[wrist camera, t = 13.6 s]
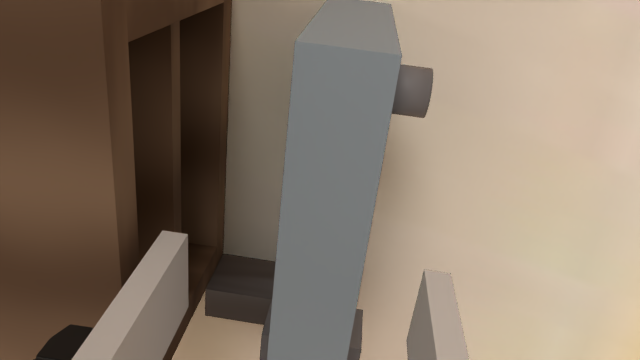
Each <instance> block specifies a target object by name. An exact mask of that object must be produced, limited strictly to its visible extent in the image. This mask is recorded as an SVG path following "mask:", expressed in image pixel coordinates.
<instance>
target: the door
mask: <svg viewBox="0 0 640 360" xmlns="http://www.w3.org/2000/svg"><path fill="white" fill-rule="evenodd" d="M401 58H402V53H401V48H400V44H399V39H398V34H397V30H396V25H395V21H394V16H393V11H392V7H391V4H386V3H378V2H370V1H362V0H327V1H326V2H325V3H324V5H323V6H322V7H321V9H320V10H319V11H318V12H317V14H316V15H315V16H314V18H313V19H312V20H311V21H310V23H309V24H308V25H307V26H306V28H305V29H304V30H303V32H302V33H301V34H300V35H299V37H298V38H297V39H296V41H295V48H294V60H293V71H292V82H291V94H290V105H289V116H288V128H287V139H286V150H285V162H284V173H283V184H282V196H281V207H280V218H279V230H278V241H277V252H276V264H275V275H274V286H273V297H272V300H271V304H270V307H269V311H268V314H267V318H266V321H265V324H264V328H263V331H262V338H261V350H260V360H359V358H360V353H361V342H362V315H363V310H360V309H356V307H357V301H358V295H359V290H360V284H361V279H362V273H363V268H364V262H365V257H366V251H367V246H368V240H369V235H370V229H371V224H372V218H373V213H374V207H375V202H376V196H377V190H378V185H379V179H380V174H381V168H382V163H383V157H384V152H385V146H386V141H387V135H388V130H389V124H390V119H391V114H399V115H406V116H413V117H420V118H424V117H425V115H426V113H427V109H428V106H429V102H430V97H431V91H432V83H433V69H431V68H424V67H416V66H409V65H401V64H400V63H401Z"/></svg>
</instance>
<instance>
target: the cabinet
mask: <svg viewBox="0 0 640 360" xmlns="http://www.w3.org/2000/svg"><path fill="white" fill-rule="evenodd" d="M231 7H232V0H0V360H33V359H35V358H36V355H37V354H38V353H39V351H40V350H41V349H42V348H43V346H44V345H45V344H46V343H47V341H48V340H49V339H50V338H51V337H52V336H54V335H55V334H57V333H58V332H60V331H61V330H63V329H64V328H65V327H67V326H68V325H70V324H73V325H79V326H86V327H92V328H94V327H95V326H96V324H97V323H98V321H99V320H100V318H101V317H102V316H103V314H104V313H105V311H106V310H107V309H108V307H109V306H110V304H111V303H112V301H113V300H114V299H115V297H116V296H117V294H118V293H119V291H120V290H121V289H122V287H123V286H124V284H125V283H126V282H127V280H128V279H129V277H130V276H131V274H132V273H133V272H134V270H135V269H136V267H137V266H138V264H139V263H140V262H141V260H142V259H143V257H144V256H145V255H146V253H147V252H148V250H149V249H150V247H151V246H152V245H153V243H154V242H155V240H156V239H157V237H158V236H159V235H160V233H161V232H162V230H163V231H170V232H177V233H183V234H188V299H189V307H188V309H187V311H186V313H185V315H184V317H183V319H182V321H181V323H180V325H179V327H178V329H177V331H176V333H175V335H174V337H173V339H172V341H171V343H170V345H169V347H168V349H167V351H166V353H165V355H164V357H163V360H171V359H172V357H173V355H174V353H175V351H176V349H177V347H178V344H179V342H180V340H181V338H182V336H183V334H184V332H185V330H186V328H187V326H188V324H189V322H190V320H191V318H192V316H193V314H194V312H195V310H196V308H197V306H198V304H199V302H200V300H201V298H202V296H203V293H204V291H205V289H206V298H205V315H206V316H212V317H218V318H225V319H231V320H237V321H243V322H250V323H256V324H262V325H264V324H265V321H266V318H267V314H268V311H269V307H270V304H271V300H272V297H273V286H274V275H275V264H276V262H273V261H266V260H260V259H253V258H247V257H240V256H234V255H228V254H223V239H224V210H225V181H226V152H227V123H228V94H229V65H230V36H231Z"/></svg>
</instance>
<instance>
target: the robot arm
mask: <svg viewBox="0 0 640 360" xmlns="http://www.w3.org/2000/svg"><path fill="white" fill-rule="evenodd" d="M188 307H189V299H188V234H183V233H177V232H170V231H163V230H162V232H161V233H160V235H159V236H158V237H157V239H156V240H155V242H154V243H153V245H152V246H151V247H150V249H149V250H148V252H147V253H146V255H145V256H144V257H143V259H142V260H141V262H140V263H139V264H138V266H137V267H136V269H135V270H134V272H133V273H132V274H131V276H130V277H129V279H128V280H127V282H126V283H125V284H124V286H123V287H122V289H121V290H120V291H119V293H118V294H117V296H116V297H115V299H114V300H113V301H112V303H111V304H110V306H109V307H108V309H107V310H106V311H105V313H104V314H103V316H102V317H101V318H100V320H99V321H98V323H97V324H96V326H95V327H94V328H92V327H86V326H79V325H73V324H70V325H68V326H67V327H65V328H64V329H63V330H61V331H60V332H58V333H57V334H55V335H54V336H52V337H51V338H50V339H49V340H48V341H47V343H46V344H45V345H44V346H43V348H42V349H41V350H40V351H39V353H38V354H37V355H36V358H35V359H33V360H163V357H164V355H165V353H166V351H167V349H168V347H169V345H170V343H171V341H172V339H173V337H174V335H175V333H176V331H177V329H178V327H179V325H180V323H181V321H182V319H183V317H184V315H185V313H186V311H187V309H188ZM407 354H408V360H469V356H468V351H467V346H466V342H465V337H464V332H463V328H462V323H461V318H460V314H459V309H458V305H457V300H456V295H455V291H454V286H453V281H452V277H451V273H445V272H438V271H432V270H425V269H424V273H423V277H422V281H421V285H420V289H419V292H418V296H417V300H416V304H415V308H414V312H413V316H412V320H411V324H410V328H409V332H408V336H407Z"/></svg>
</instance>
